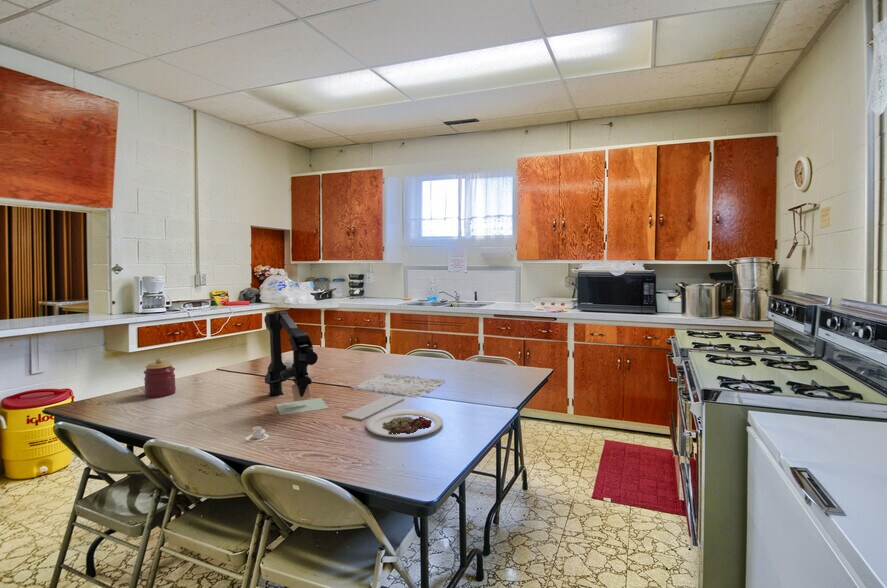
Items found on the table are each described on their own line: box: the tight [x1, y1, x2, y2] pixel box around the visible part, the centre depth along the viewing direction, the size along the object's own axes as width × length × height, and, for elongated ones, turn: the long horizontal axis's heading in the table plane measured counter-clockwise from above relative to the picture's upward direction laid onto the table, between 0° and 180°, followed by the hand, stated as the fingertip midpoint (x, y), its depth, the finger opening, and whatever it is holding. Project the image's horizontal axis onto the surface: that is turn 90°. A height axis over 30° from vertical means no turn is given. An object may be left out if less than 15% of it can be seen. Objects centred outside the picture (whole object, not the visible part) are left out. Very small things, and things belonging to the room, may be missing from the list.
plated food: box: [365, 408, 444, 439], centre depth 179 cm, size 30×30×3 cm
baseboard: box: [341, 394, 405, 422], centre depth 201 cm, size 31×3×12 cm
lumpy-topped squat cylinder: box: [283, 358, 294, 379], centre depth 258 cm, size 10×13×9 cm
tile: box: [291, 383, 311, 402], centre depth 203 cm, size 2×7×7 cm, turn 116°
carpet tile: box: [350, 373, 446, 398], centre depth 237 cm, size 39×30×2 cm
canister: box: [143, 358, 177, 399], centre depth 223 cm, size 13×13×18 cm
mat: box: [275, 397, 329, 416], centre depth 203 cm, size 16×20×1 cm
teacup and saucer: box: [244, 426, 270, 443], centre depth 168 cm, size 9×8×4 cm
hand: (301, 396), depth 203 cm, fingers closed on tile, 2 cm apart
